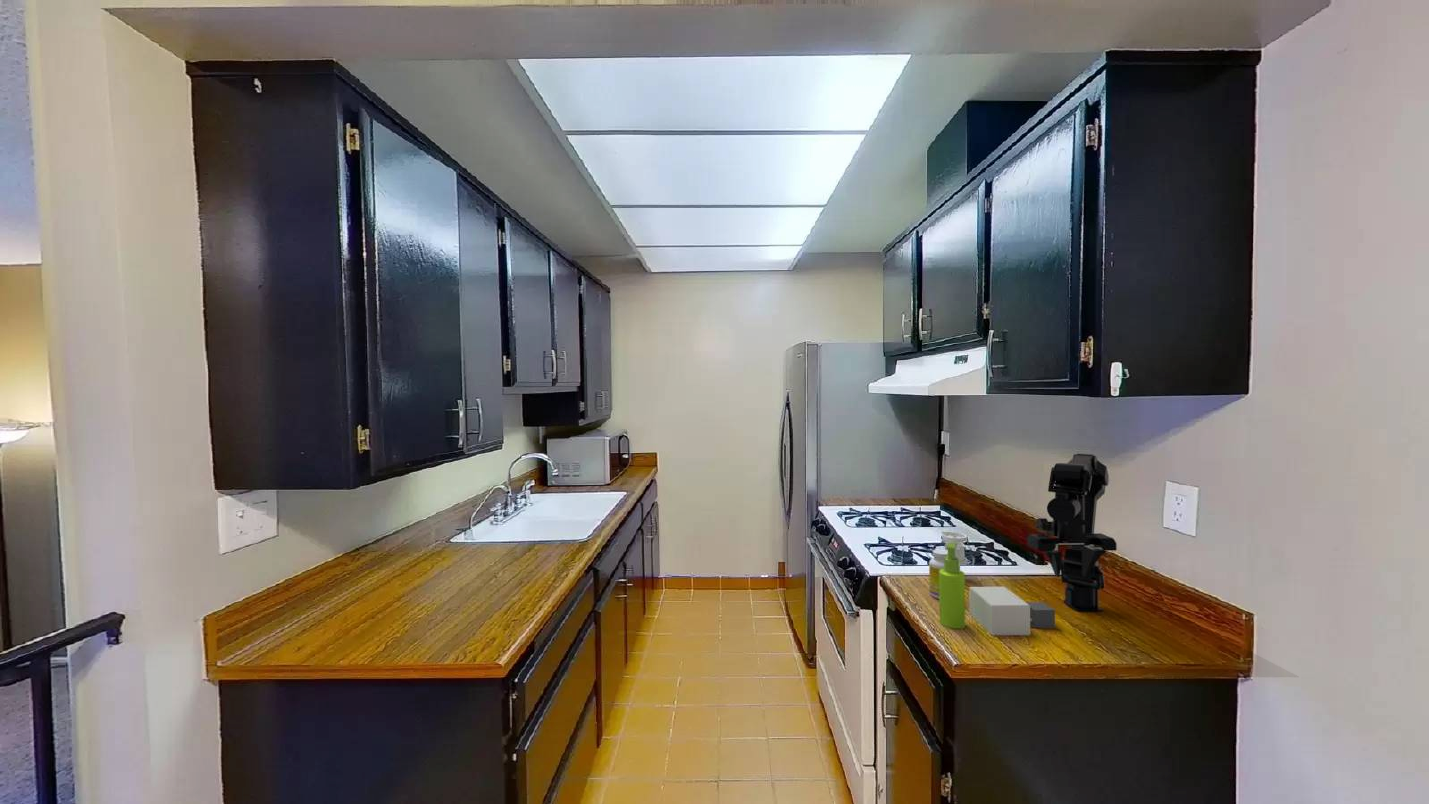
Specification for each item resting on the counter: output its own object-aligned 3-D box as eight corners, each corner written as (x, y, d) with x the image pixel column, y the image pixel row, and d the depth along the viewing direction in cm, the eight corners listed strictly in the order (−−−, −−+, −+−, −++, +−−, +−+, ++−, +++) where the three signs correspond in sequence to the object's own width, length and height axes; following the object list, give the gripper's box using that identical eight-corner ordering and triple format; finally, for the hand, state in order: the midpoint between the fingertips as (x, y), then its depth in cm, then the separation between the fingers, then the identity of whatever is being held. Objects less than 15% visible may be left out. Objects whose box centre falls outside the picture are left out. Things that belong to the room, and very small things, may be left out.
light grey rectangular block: (1004, 613, 137) (1004, 586, 137) (1030, 635, 125) (1029, 605, 125) (969, 613, 137) (969, 586, 137) (992, 635, 125) (991, 605, 125)
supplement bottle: (940, 602, 145) (939, 556, 145) (924, 593, 152) (923, 549, 151) (960, 598, 147) (959, 553, 147) (943, 590, 154) (943, 547, 153)
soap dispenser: (966, 619, 134) (965, 542, 134) (963, 630, 128) (962, 549, 128) (941, 614, 137) (940, 539, 137) (938, 625, 131) (937, 546, 131)
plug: (1043, 620, 133) (1043, 602, 133) (1054, 628, 128) (1054, 610, 128) (1019, 620, 133) (1018, 602, 133) (1029, 628, 129) (1029, 610, 128)
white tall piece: (943, 574, 167) (942, 527, 166) (967, 577, 164) (967, 529, 163) (941, 581, 160) (941, 533, 160) (967, 584, 157) (966, 535, 157)
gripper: (1087, 506, 137) (1087, 565, 138) (1015, 507, 138) (1015, 565, 139) (1118, 516, 126) (1118, 580, 127) (1039, 517, 127) (1039, 580, 128)
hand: (1070, 576), depth 130 cm, fingers open, 6 cm apart
